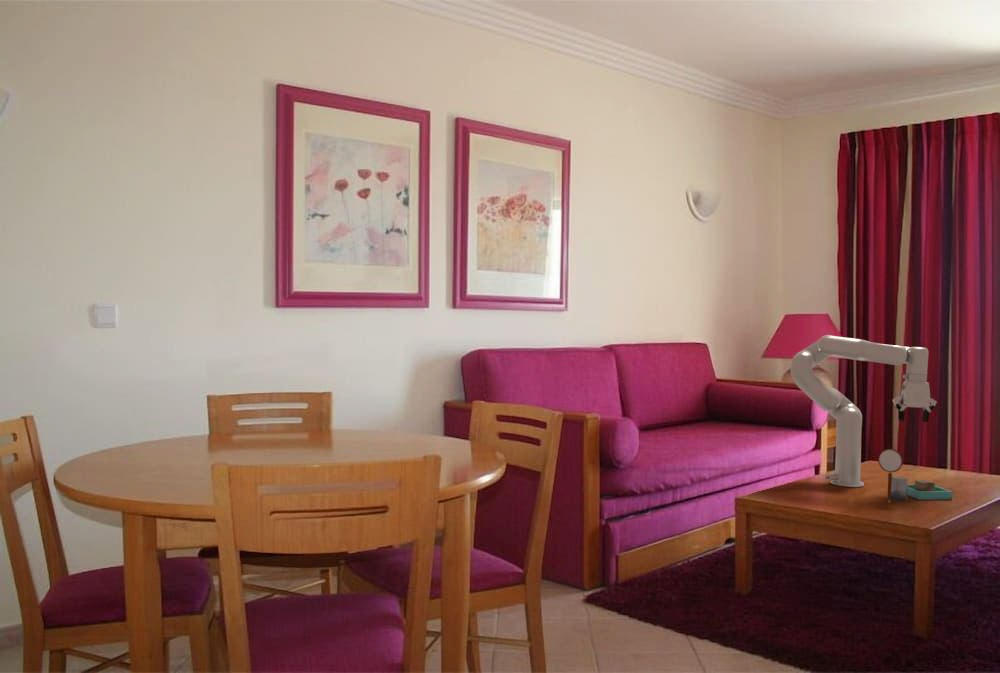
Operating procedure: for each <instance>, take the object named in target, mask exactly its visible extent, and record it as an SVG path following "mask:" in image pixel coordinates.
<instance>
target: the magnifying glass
mask: <svg viewBox="0 0 1000 673" xmlns="http://www.w3.org/2000/svg"><path fill="white" fill-rule="evenodd" d="M877 462H878V465H879V466H880V468H881V469H882V470H884V471H885V472H887V474H888V475H887V476H888V477H887V502H888V503H891V501H892V500H891V484H892V477H893V474H892V473H896V472H898V471H900V469H901V468H902V466H903V463H904V460H903V456H902V455H901V453H900V452H899V451H898V450H896V449H893V448H886V449H883V450H882V451H881V452H880V453H879V454H878V459H877Z"/></svg>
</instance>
